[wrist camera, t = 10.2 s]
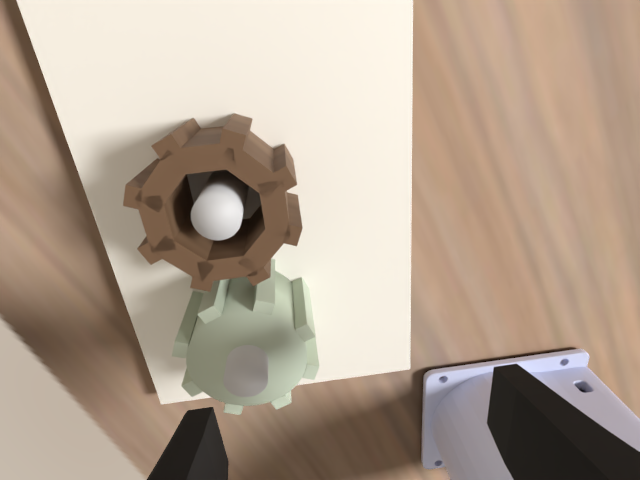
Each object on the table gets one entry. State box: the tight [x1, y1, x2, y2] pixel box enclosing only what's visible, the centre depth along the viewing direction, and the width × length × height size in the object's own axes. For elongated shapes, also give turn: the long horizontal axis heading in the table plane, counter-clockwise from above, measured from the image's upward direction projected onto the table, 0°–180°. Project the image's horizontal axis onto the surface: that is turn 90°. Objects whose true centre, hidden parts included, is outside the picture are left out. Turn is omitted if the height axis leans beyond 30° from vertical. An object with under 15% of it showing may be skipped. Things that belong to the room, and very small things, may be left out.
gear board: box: [17, 0, 413, 415], centre depth 15 cm, size 13×20×6 cm, turn 5°
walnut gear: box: [123, 113, 303, 292], centre depth 14 cm, size 6×5×4 cm
